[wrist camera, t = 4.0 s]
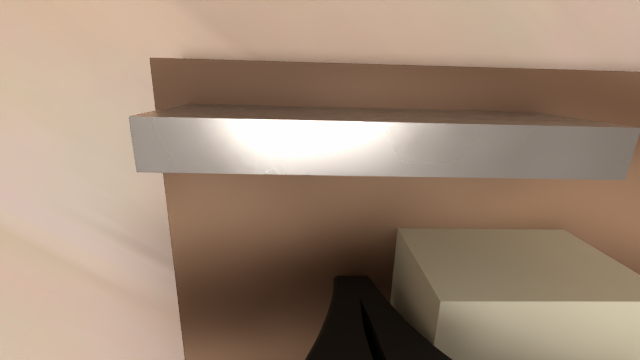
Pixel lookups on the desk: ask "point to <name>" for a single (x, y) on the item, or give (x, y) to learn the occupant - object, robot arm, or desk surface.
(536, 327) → the sage block
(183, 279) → the tunnel board
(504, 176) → the tunnel walls
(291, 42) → the desk surface
